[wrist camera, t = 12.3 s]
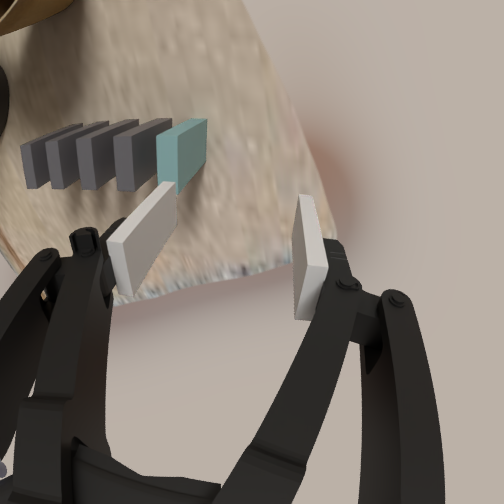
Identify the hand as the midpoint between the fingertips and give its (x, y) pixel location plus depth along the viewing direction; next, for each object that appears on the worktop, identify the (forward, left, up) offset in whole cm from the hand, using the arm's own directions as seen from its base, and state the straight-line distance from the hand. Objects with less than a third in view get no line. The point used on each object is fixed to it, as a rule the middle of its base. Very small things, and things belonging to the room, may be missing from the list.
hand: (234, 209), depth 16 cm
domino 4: (-11, 0, -17) cm, 20 cm away
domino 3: (-15, 0, -17) cm, 23 cm away
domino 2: (-19, 0, -17) cm, 26 cm away
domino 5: (-7, 0, -17) cm, 18 cm away
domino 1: (-23, 0, -17) cm, 29 cm away
